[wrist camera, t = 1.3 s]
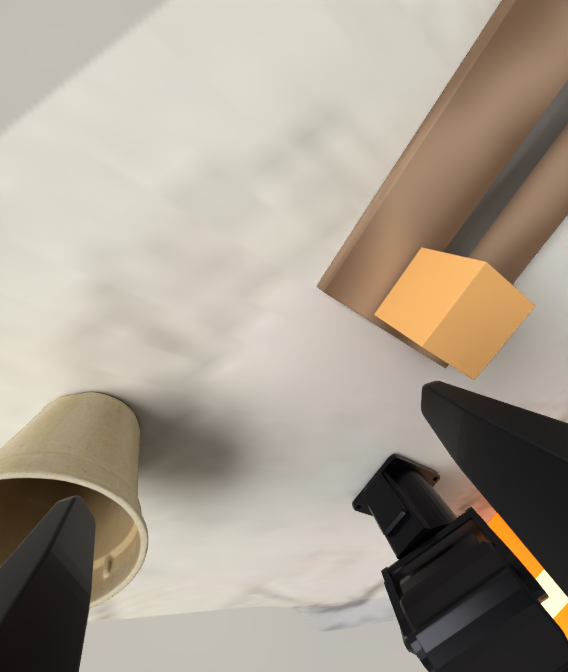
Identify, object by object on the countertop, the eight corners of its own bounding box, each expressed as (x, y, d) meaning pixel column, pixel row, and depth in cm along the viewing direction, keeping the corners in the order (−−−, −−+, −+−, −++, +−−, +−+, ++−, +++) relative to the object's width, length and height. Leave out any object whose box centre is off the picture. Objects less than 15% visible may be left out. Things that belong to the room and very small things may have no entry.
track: (641, 91, 22) (770, 60, 17) (433, 359, 26) (486, 396, 22) (549, -73, 17) (689, -182, 12) (316, 286, 22) (350, 312, 17)
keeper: (465, 283, 22) (535, 305, 18) (419, 343, 23) (474, 380, 19) (421, 247, 21) (486, 262, 16) (374, 314, 22) (421, 346, 17)
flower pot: (153, 488, 25) (131, 619, 17) (4, 481, 22) (-102, 635, 14) (176, 380, 22) (163, 479, 14) (9, 356, 19) (-120, 464, 11)
